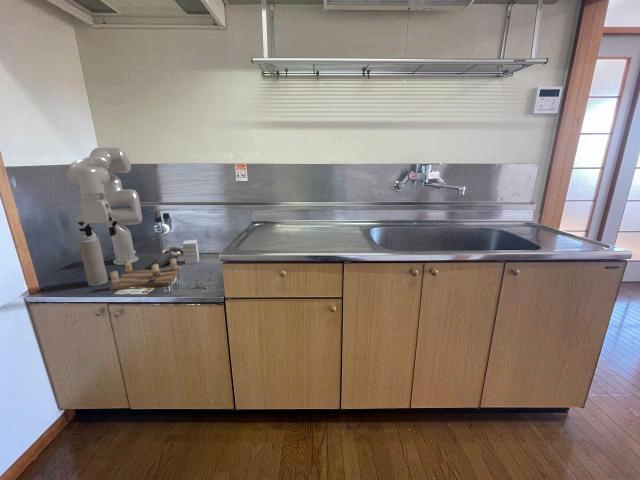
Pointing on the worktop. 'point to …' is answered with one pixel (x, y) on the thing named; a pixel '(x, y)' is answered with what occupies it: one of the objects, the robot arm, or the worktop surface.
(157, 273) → the swing leg
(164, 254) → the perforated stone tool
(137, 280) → the stool seat
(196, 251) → the supplement box
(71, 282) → the worktop surface
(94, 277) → the thermos bottle
